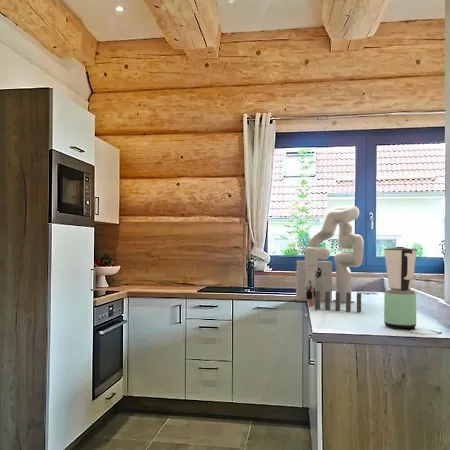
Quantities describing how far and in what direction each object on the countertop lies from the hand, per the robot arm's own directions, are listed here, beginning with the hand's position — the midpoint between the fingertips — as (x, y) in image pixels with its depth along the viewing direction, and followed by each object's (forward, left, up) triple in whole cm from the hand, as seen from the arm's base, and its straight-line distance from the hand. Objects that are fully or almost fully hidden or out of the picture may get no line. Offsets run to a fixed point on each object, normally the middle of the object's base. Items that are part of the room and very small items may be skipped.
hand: (310, 298), depth 264 cm
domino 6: (+12, +28, -4) cm, 30 cm away
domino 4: (+12, +17, -4) cm, 21 cm away
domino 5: (+12, +22, -4) cm, 25 cm away
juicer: (+54, +48, -5) cm, 72 cm away
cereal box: (-26, -2, -5) cm, 27 cm away
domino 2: (+12, +6, -4) cm, 14 cm away
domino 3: (+12, +11, -4) cm, 17 cm away
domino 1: (0, 0, -4) cm, 4 cm away
